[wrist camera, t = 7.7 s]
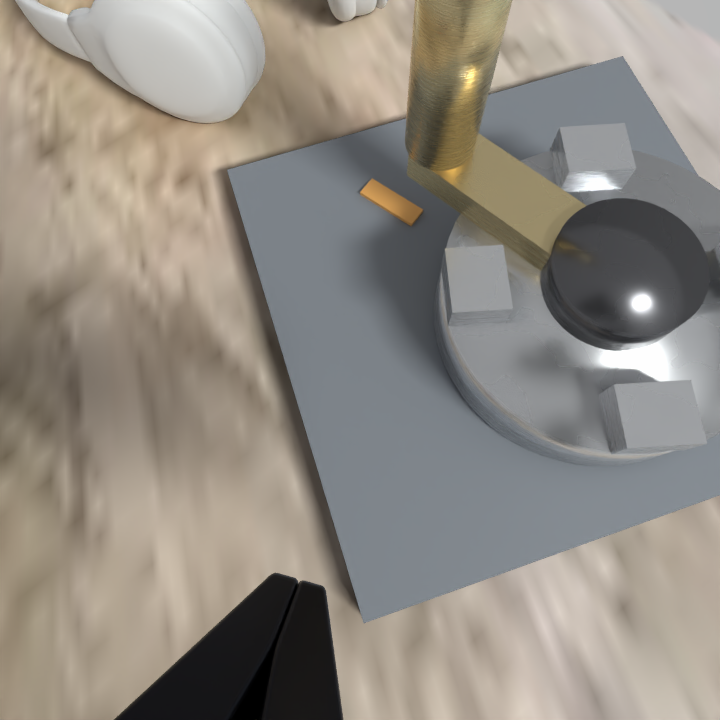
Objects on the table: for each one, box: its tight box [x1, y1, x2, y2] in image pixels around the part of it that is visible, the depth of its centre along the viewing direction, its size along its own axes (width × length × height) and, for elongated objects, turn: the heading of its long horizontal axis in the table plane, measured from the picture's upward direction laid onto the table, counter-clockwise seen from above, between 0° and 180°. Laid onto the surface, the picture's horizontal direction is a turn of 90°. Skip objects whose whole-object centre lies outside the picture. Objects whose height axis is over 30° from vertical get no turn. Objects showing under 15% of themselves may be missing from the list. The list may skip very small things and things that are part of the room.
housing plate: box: [227, 56, 720, 623], centre depth 24 cm, size 20×20×2 cm
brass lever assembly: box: [405, 0, 720, 466], centre depth 17 cm, size 15×12×13 cm
